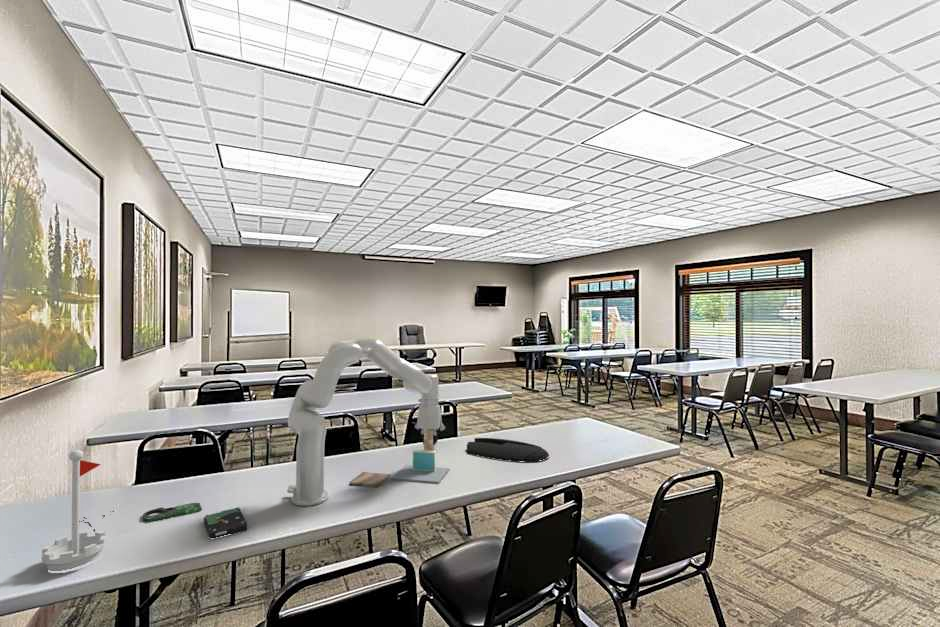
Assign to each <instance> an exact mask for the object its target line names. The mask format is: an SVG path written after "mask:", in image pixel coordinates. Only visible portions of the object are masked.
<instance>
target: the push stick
mask: <svg viewBox="0 0 940 627" xmlns="http://www.w3.org/2000/svg"><path fill="white" fill-rule="evenodd" d="M433 436H434V431H433V429H424V444H423V450H429V451H436V444H435V445H433Z"/></svg>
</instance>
